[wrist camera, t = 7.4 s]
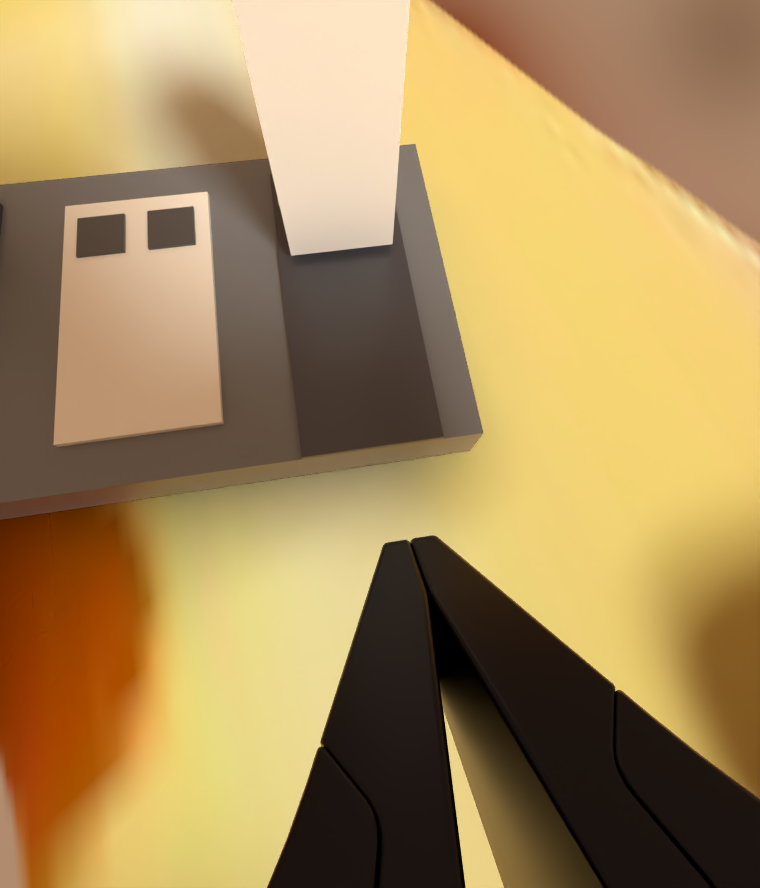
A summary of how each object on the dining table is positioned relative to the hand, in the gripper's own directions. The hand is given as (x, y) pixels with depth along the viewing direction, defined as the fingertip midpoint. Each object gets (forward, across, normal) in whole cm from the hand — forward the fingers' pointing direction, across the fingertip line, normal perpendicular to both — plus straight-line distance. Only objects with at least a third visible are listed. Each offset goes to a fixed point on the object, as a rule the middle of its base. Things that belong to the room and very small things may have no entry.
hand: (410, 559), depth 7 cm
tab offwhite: (+12, 0, -5) cm, 13 cm away
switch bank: (+12, +7, -1) cm, 14 cm away
